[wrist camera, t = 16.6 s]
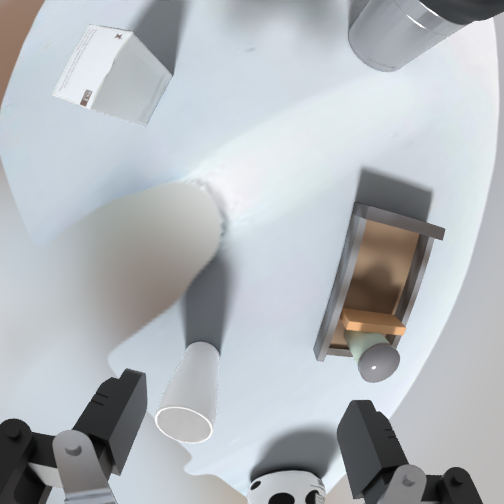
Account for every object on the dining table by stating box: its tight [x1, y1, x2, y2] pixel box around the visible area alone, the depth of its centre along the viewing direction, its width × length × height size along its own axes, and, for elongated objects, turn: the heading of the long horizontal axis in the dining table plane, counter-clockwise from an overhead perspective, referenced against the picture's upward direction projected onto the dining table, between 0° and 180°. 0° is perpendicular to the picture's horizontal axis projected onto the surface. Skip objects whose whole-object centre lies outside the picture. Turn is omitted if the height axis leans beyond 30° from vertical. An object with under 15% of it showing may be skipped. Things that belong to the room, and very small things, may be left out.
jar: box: [343, 328, 400, 383], centre depth 35 cm, size 5×5×9 cm
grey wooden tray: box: [313, 202, 445, 362], centre depth 36 cm, size 22×12×5 cm, turn 169°
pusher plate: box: [339, 308, 406, 335], centre depth 36 cm, size 1×9×4 cm, turn 79°
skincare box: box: [52, 24, 173, 127], centre depth 25 cm, size 8×6×15 cm
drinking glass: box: [155, 342, 220, 443], centre depth 34 cm, size 7×7×15 cm
